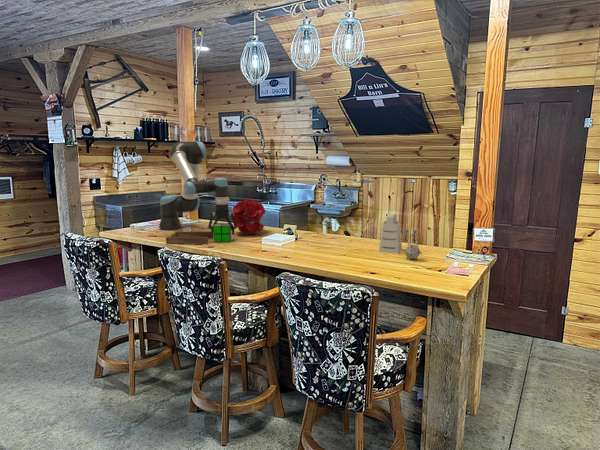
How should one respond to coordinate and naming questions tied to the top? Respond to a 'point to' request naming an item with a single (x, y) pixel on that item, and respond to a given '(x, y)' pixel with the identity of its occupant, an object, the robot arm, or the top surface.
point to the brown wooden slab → (189, 238)
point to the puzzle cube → (222, 232)
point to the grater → (390, 235)
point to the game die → (412, 251)
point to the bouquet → (248, 216)
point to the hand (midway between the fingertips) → (223, 239)
